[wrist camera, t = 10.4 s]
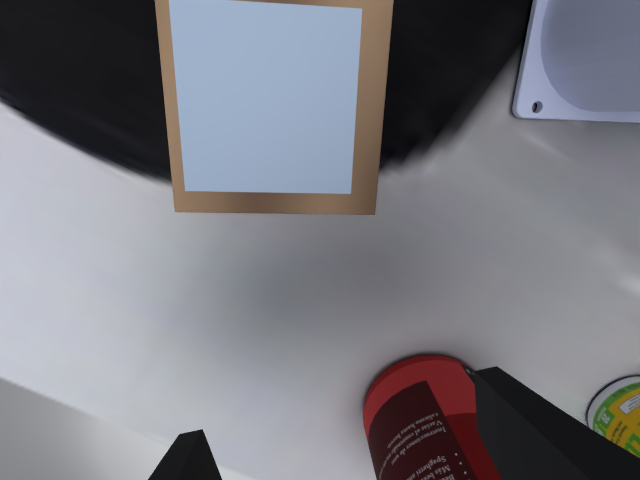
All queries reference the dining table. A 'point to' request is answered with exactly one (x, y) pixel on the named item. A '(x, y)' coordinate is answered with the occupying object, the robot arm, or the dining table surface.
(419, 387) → the canned food
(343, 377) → the dining table surface
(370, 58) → the plinth
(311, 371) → the dining table surface
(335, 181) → the block
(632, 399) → the supplement bottle
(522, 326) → the dining table surface
